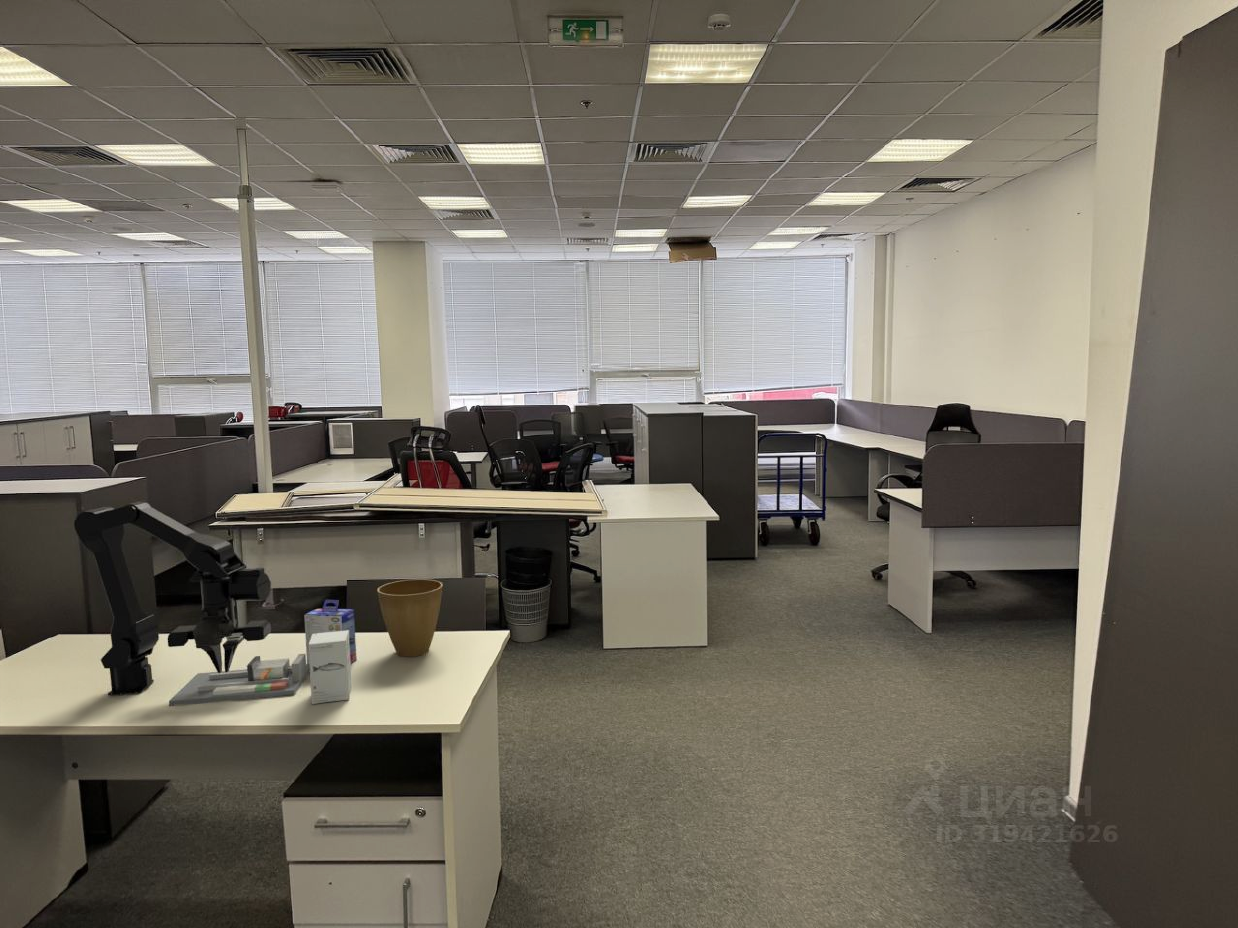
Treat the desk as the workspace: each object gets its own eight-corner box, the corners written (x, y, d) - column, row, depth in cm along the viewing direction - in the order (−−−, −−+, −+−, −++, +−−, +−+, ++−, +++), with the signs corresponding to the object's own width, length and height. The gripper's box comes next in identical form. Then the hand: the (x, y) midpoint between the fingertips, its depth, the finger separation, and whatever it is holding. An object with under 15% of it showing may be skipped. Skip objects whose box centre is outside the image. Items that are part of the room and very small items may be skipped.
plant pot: (417, 666, 168) (413, 597, 167) (367, 657, 175) (363, 591, 173) (458, 645, 182) (455, 581, 180) (411, 637, 188) (407, 576, 186)
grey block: (242, 691, 153) (240, 672, 153) (256, 673, 163) (255, 656, 162) (278, 687, 155) (276, 669, 154) (290, 671, 164) (289, 653, 163)
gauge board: (169, 705, 150) (167, 681, 150) (198, 677, 165) (196, 655, 165) (294, 694, 154) (292, 671, 154) (311, 667, 169) (310, 646, 169)
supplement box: (311, 705, 149) (306, 644, 147) (315, 691, 156) (311, 632, 155) (350, 700, 151) (346, 640, 149) (352, 686, 158) (349, 628, 157)
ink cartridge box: (358, 659, 174) (354, 598, 172) (345, 668, 169) (341, 605, 167) (320, 657, 176) (316, 597, 174) (306, 666, 171) (301, 604, 169)
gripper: (152, 615, 148) (159, 691, 149) (252, 608, 151) (258, 682, 152) (176, 599, 159) (182, 670, 160) (269, 593, 162) (274, 663, 163)
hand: (223, 672), depth 159 cm, fingers closed
